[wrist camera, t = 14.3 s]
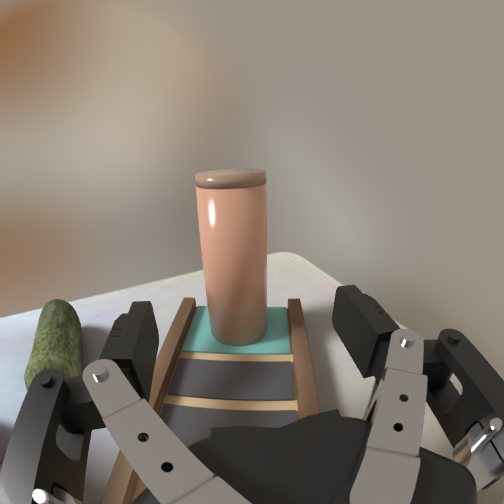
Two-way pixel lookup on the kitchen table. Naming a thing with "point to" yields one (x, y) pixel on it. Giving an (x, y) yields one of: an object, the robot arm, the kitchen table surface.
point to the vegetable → (56, 342)
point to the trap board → (224, 383)
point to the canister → (234, 252)
